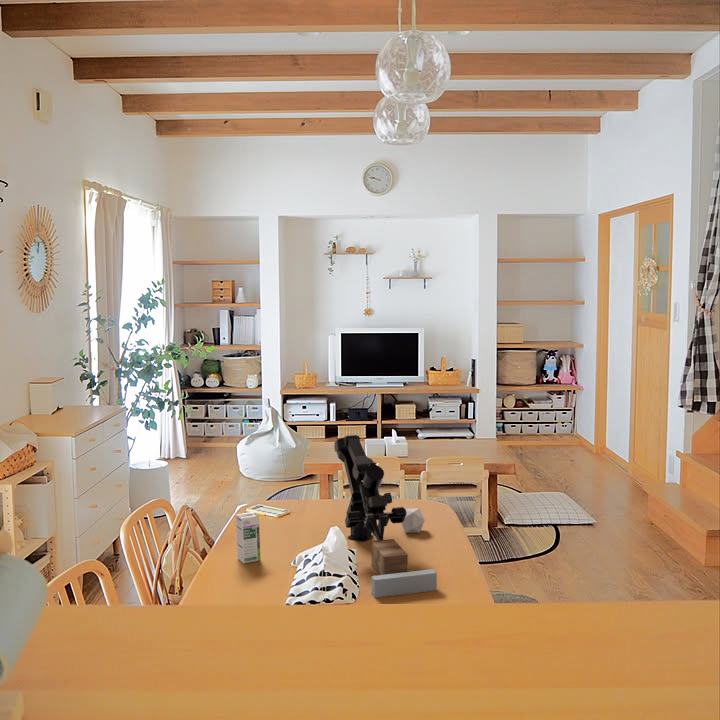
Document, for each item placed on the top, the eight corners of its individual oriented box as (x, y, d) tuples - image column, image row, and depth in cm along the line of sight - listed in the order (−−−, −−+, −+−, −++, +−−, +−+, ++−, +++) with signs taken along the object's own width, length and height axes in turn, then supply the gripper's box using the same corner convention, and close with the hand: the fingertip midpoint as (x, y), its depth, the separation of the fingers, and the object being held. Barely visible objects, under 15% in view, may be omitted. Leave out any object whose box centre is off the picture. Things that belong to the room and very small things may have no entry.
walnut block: (371, 566, 233) (371, 541, 232) (393, 564, 235) (393, 538, 234) (384, 583, 219) (384, 556, 218) (407, 581, 221) (407, 554, 220)
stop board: (371, 593, 212) (371, 576, 212) (433, 586, 217) (432, 569, 216) (374, 597, 209) (374, 580, 209) (436, 590, 214) (436, 573, 213)
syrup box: (243, 564, 236) (241, 518, 234) (237, 558, 241) (235, 513, 240) (260, 560, 238) (259, 515, 237) (254, 555, 244) (252, 510, 242)
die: (417, 539, 259) (431, 514, 261) (395, 525, 260) (409, 501, 262) (415, 539, 267) (428, 515, 269) (393, 527, 268) (407, 503, 270)
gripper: (346, 486, 235) (356, 532, 226) (404, 481, 240) (416, 526, 230) (341, 504, 243) (350, 549, 234) (397, 499, 248) (408, 543, 239)
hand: (381, 542), depth 234 cm, fingers closed
